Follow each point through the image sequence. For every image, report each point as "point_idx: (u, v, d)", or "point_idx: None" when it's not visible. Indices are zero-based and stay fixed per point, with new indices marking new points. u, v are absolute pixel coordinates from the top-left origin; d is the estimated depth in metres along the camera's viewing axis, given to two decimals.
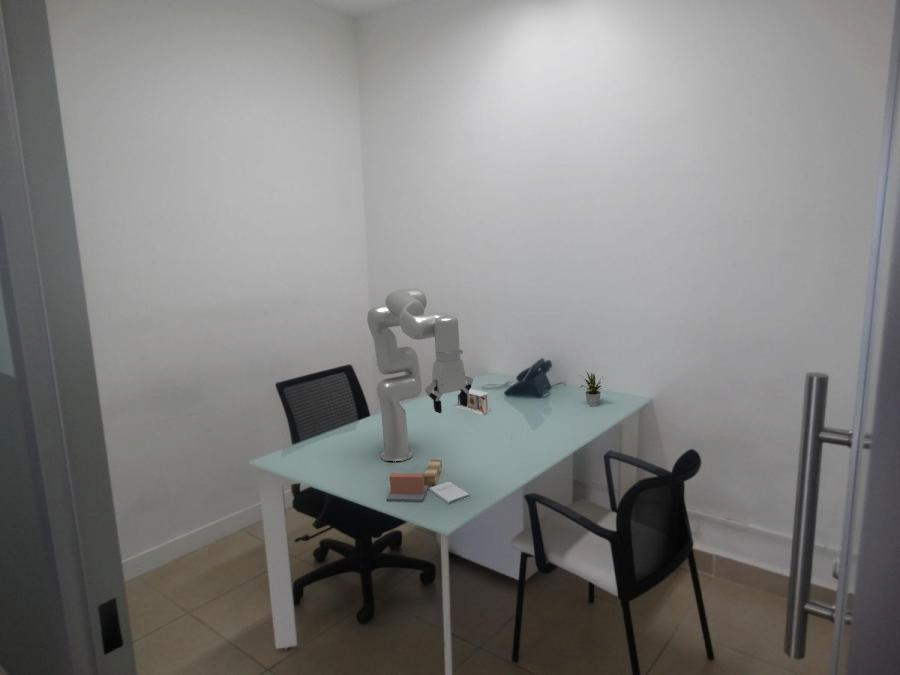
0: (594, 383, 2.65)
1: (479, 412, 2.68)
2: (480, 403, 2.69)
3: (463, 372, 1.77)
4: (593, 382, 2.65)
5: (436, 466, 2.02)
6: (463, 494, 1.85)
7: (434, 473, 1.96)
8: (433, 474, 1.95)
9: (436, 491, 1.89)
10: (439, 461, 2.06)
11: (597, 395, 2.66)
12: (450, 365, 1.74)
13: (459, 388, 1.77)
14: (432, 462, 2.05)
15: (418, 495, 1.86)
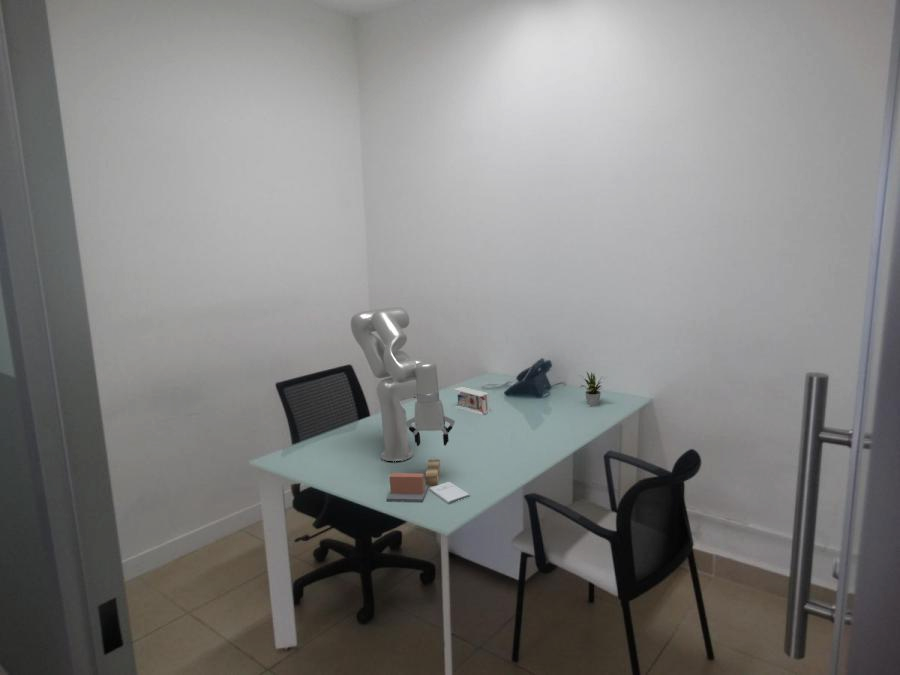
0: (594, 383, 2.65)
1: (479, 412, 2.68)
2: (480, 403, 2.69)
3: None
4: (593, 382, 2.65)
5: (436, 466, 2.02)
6: (463, 494, 1.85)
7: (436, 473, 1.96)
8: (435, 474, 1.95)
9: (436, 491, 1.89)
10: (437, 461, 2.06)
11: (597, 395, 2.66)
12: None
13: None
14: (431, 462, 2.05)
15: (418, 495, 1.86)
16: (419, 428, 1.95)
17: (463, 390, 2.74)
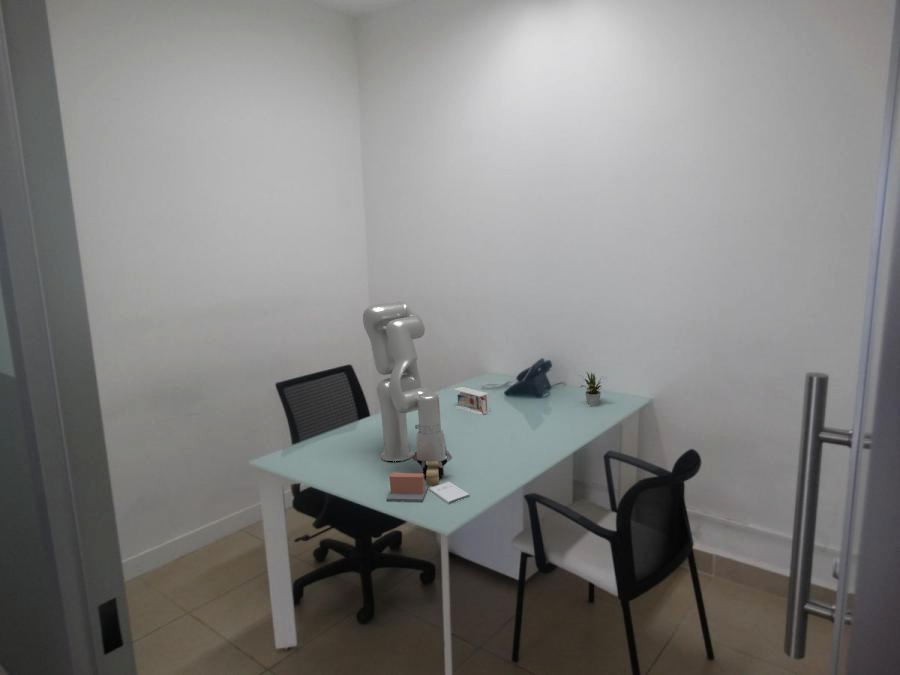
0: (594, 383, 2.65)
1: (479, 412, 2.68)
2: (480, 403, 2.68)
3: None
4: (593, 382, 2.65)
5: (436, 465, 2.02)
6: (463, 494, 1.85)
7: (436, 472, 1.96)
8: (435, 473, 1.95)
9: (436, 491, 1.89)
10: None
11: (597, 395, 2.66)
12: None
13: None
14: (431, 462, 2.05)
15: (418, 495, 1.86)
16: (421, 458, 1.98)
17: (463, 390, 2.74)
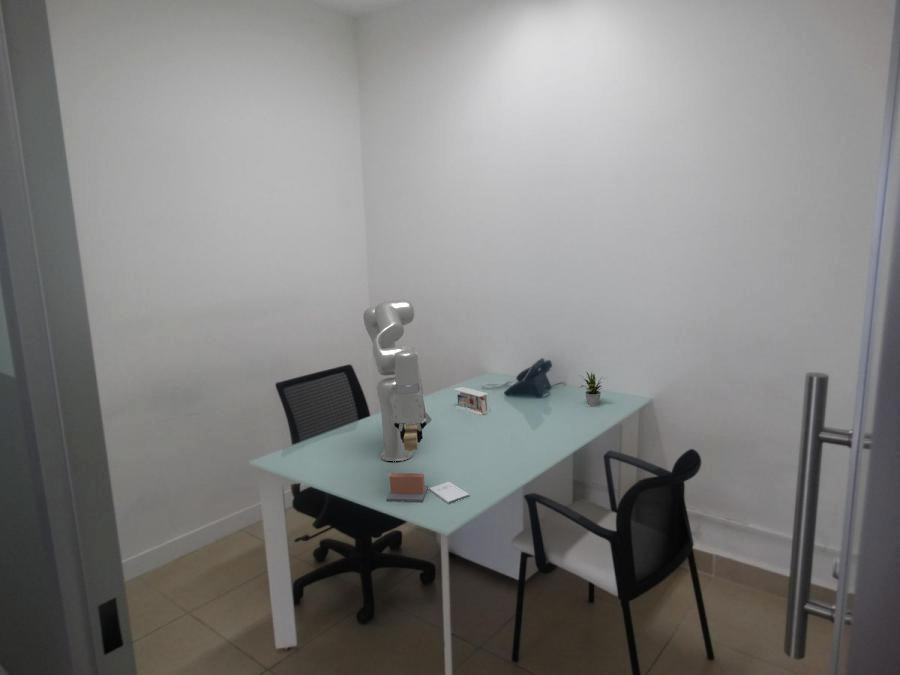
0: (594, 383, 2.65)
1: (478, 412, 2.68)
2: (480, 403, 2.68)
3: None
4: (593, 382, 2.65)
5: (414, 429, 1.89)
6: (463, 494, 1.85)
7: (414, 435, 1.84)
8: (414, 436, 1.83)
9: (436, 491, 1.88)
10: (416, 425, 1.94)
11: (597, 395, 2.66)
12: None
13: None
14: (409, 426, 1.93)
15: (418, 495, 1.86)
16: (398, 421, 1.85)
17: (463, 390, 2.74)
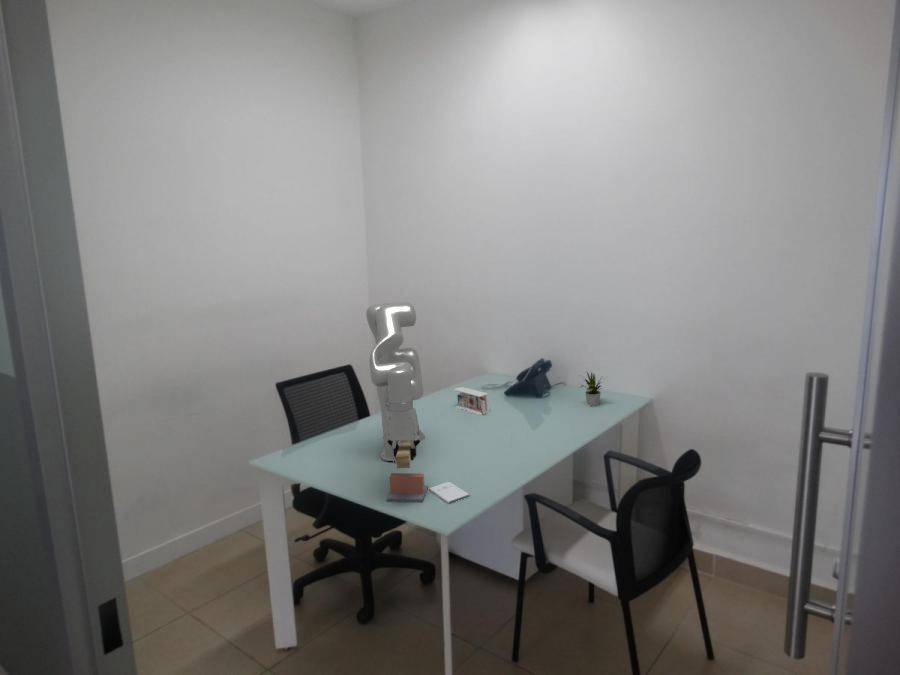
0: (594, 383, 2.65)
1: (478, 412, 2.67)
2: (480, 403, 2.68)
3: None
4: (593, 382, 2.65)
5: (408, 446, 1.87)
6: (463, 494, 1.85)
7: (407, 453, 1.81)
8: (406, 454, 1.80)
9: (436, 491, 1.88)
10: None
11: (597, 395, 2.66)
12: None
13: None
14: (403, 443, 1.90)
15: (418, 495, 1.86)
16: (391, 438, 1.83)
17: (463, 390, 2.74)
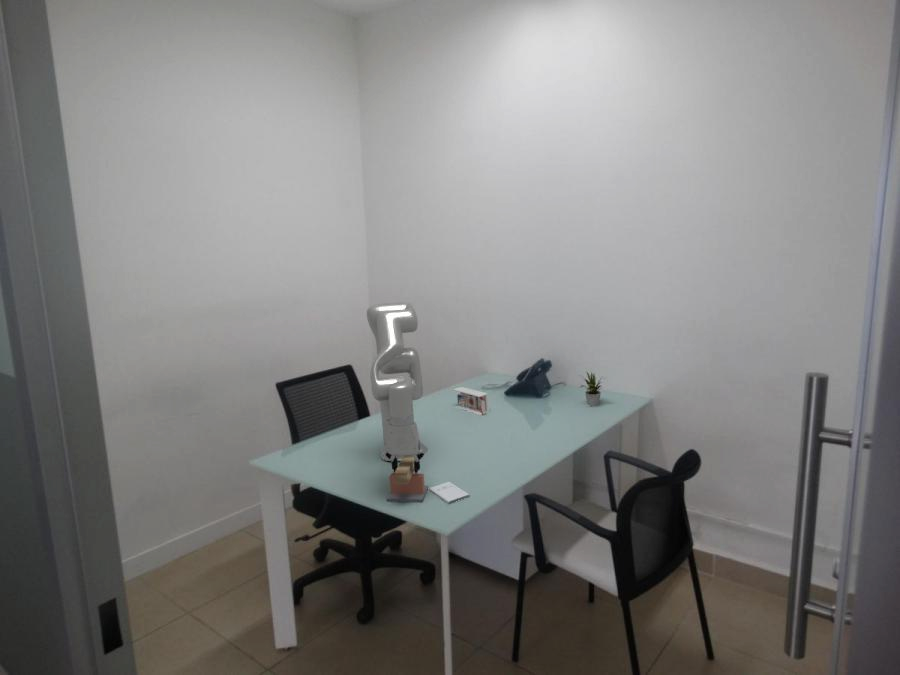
0: (594, 383, 2.65)
1: (478, 412, 2.67)
2: (479, 403, 2.68)
3: None
4: (593, 382, 2.65)
5: (409, 462, 1.88)
6: (463, 494, 1.85)
7: (406, 469, 1.83)
8: (405, 470, 1.82)
9: (436, 491, 1.88)
10: (413, 457, 1.92)
11: (597, 395, 2.66)
12: None
13: None
14: (406, 458, 1.92)
15: (418, 495, 1.86)
16: (392, 452, 1.84)
17: (463, 390, 2.74)
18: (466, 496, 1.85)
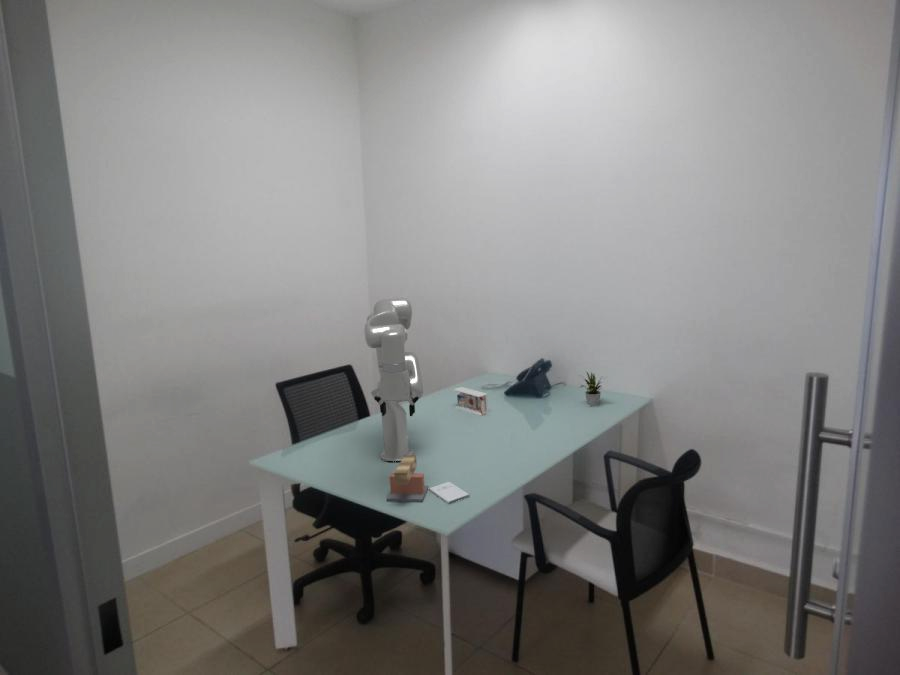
0: (594, 383, 2.65)
1: (478, 413, 2.67)
2: (479, 403, 2.68)
3: None
4: (593, 382, 2.65)
5: (409, 462, 1.88)
6: (463, 494, 1.85)
7: (406, 469, 1.83)
8: (405, 470, 1.82)
9: (436, 491, 1.88)
10: (413, 457, 1.92)
11: (597, 395, 2.66)
12: None
13: None
14: (406, 458, 1.92)
15: (418, 495, 1.86)
16: (384, 398, 1.89)
17: (462, 390, 2.73)
18: (466, 496, 1.85)
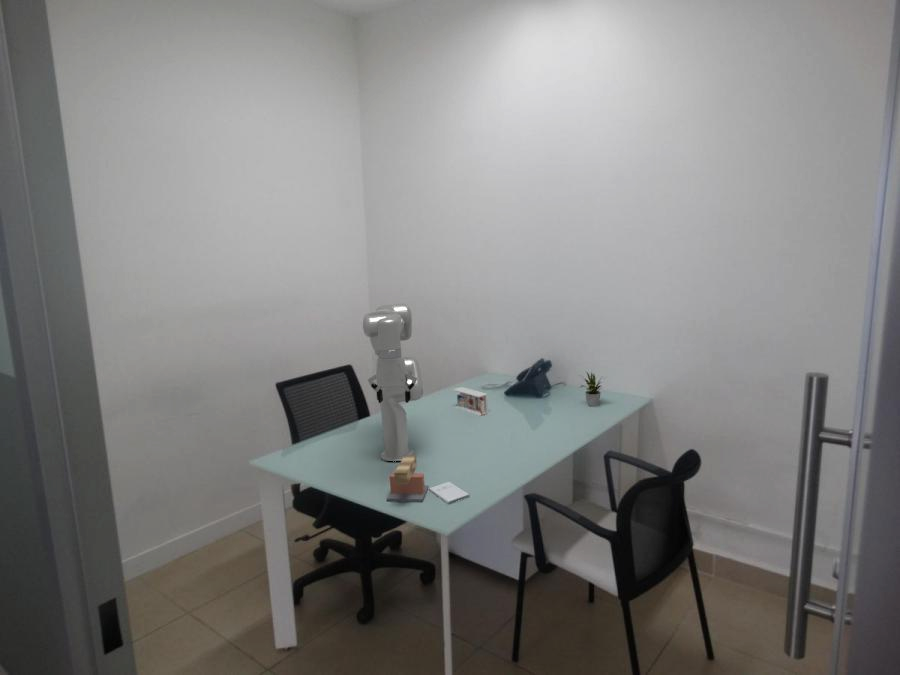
0: (594, 383, 2.65)
1: (478, 413, 2.67)
2: (479, 403, 2.68)
3: None
4: (593, 382, 2.65)
5: (409, 462, 1.88)
6: (463, 494, 1.85)
7: (406, 469, 1.83)
8: (405, 470, 1.82)
9: (436, 491, 1.88)
10: (413, 457, 1.92)
11: (597, 395, 2.66)
12: None
13: None
14: (406, 458, 1.92)
15: (418, 495, 1.86)
16: (381, 385, 1.94)
17: (462, 390, 2.73)
18: (466, 496, 1.84)
